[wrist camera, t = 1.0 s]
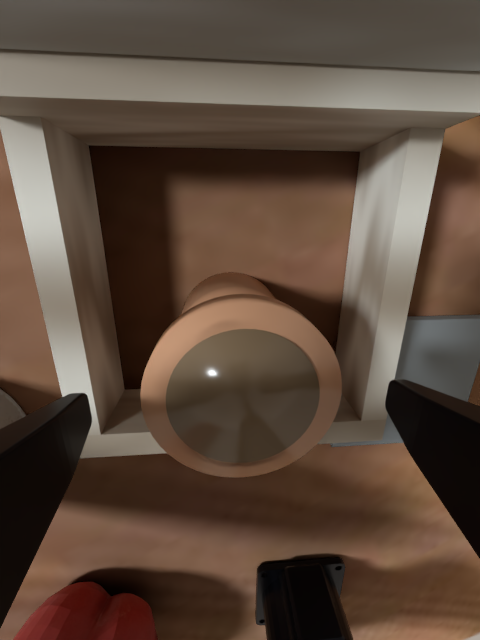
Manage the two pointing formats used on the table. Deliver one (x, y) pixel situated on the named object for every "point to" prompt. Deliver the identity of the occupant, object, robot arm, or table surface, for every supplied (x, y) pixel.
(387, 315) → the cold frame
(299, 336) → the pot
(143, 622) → the vegetable
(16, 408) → the thermos bottle
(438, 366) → the pad
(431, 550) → the table surface
